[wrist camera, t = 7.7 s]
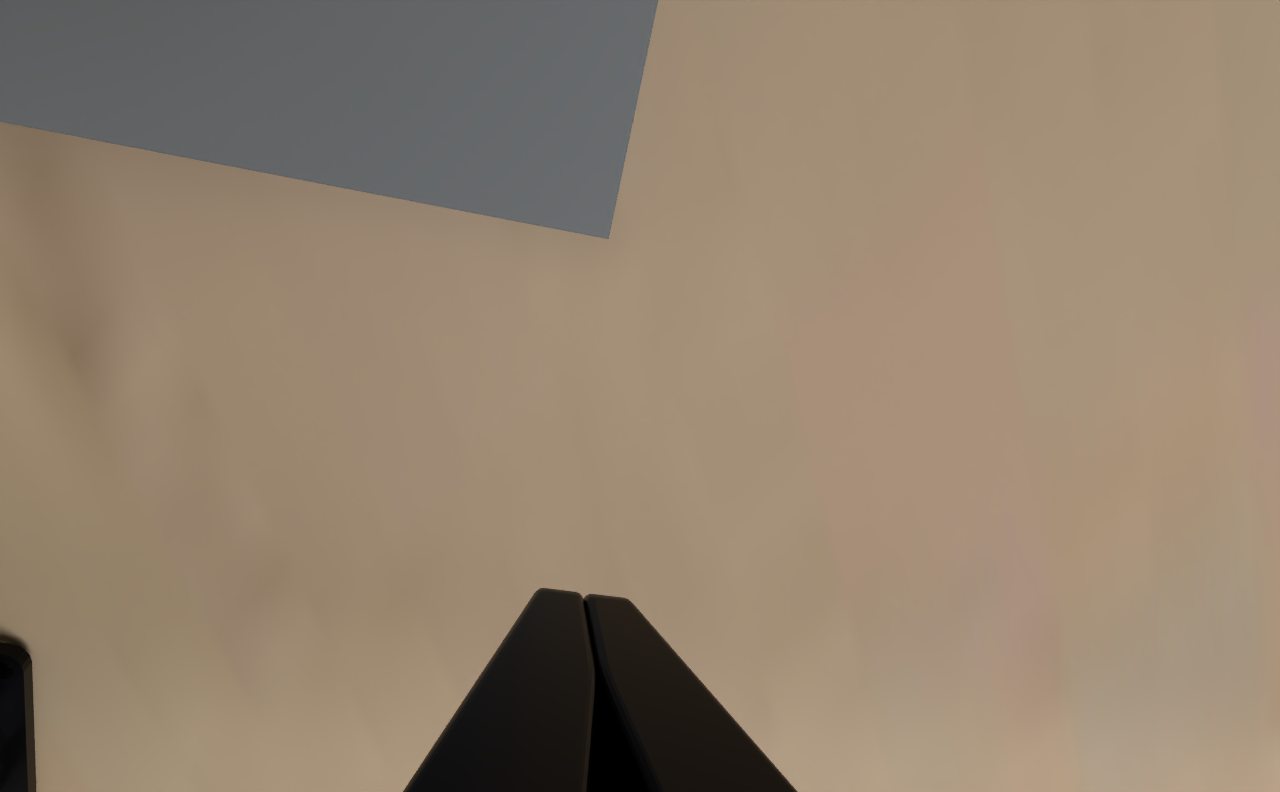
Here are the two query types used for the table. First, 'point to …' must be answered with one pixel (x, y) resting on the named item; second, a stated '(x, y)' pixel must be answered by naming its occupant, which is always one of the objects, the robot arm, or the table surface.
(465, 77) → the panel
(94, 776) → the table surface
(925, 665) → the table surface
